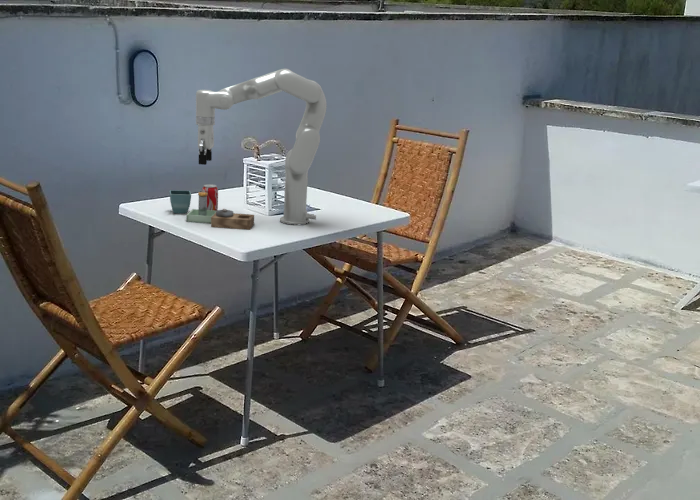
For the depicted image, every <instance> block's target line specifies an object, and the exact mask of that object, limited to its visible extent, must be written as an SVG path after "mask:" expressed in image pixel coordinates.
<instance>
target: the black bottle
mask: <svg viewBox="0 0 700 500" xmlns="http://www.w3.org/2000/svg"><path fill="white" fill-rule="evenodd" d="M197 193H198V194H197V195H198V209H199V210H198V215H201V216H207V192H202V191H198V192H197Z"/></svg>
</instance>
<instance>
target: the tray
mask: <svg viewBox="0 0 700 500" xmlns="http://www.w3.org/2000/svg"><path fill="white" fill-rule="evenodd" d="M198 210H199V208H192V209H191V210H190V211H189V212H187V213H186V217H185V218H186V223H199V224H210V225H211V217H212V216H213V215H214V214H215V213H216V211H213V210H207V216H201V215H198Z"/></svg>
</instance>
